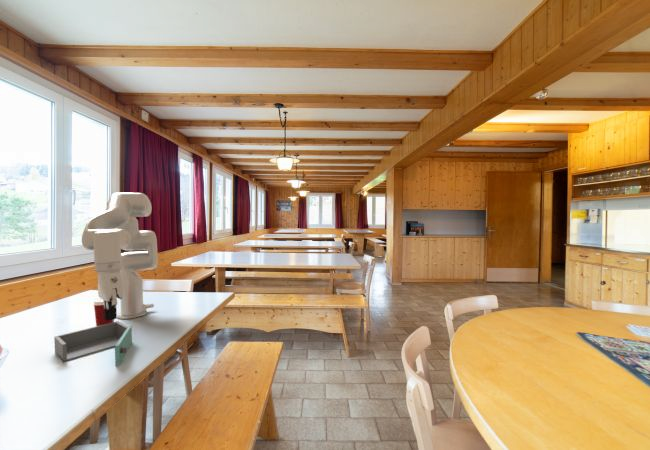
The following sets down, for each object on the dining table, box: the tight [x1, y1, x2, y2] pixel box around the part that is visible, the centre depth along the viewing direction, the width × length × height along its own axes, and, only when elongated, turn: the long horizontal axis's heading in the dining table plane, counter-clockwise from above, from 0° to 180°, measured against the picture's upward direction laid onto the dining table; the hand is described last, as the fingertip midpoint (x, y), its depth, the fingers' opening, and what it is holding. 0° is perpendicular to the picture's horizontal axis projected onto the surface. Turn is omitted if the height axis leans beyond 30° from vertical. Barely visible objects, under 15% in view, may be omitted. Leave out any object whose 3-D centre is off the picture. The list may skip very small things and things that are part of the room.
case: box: [53, 321, 128, 363], centre depth 115 cm, size 20×12×6 cm, turn 141°
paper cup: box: [92, 298, 115, 327], centre depth 131 cm, size 8×8×14 cm
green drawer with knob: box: [114, 325, 133, 367], centre depth 110 cm, size 21×3×6 cm, turn 22°
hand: (110, 319), depth 106 cm, fingers closed
